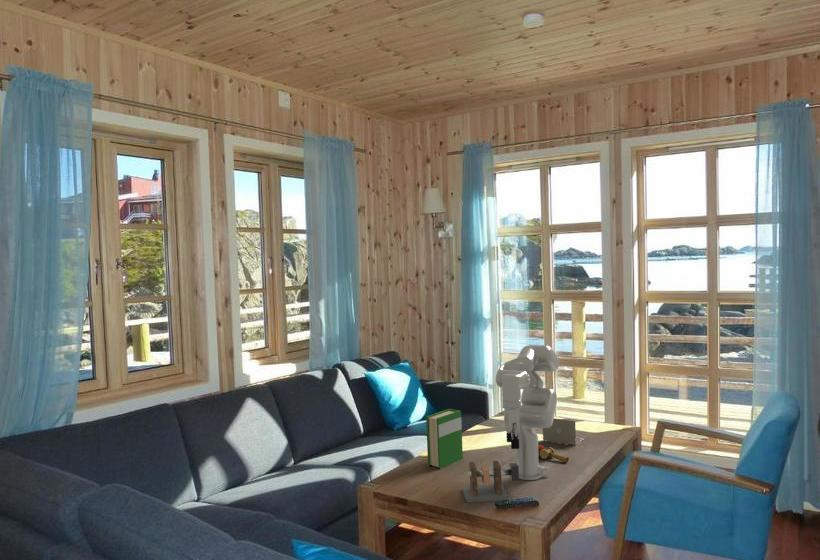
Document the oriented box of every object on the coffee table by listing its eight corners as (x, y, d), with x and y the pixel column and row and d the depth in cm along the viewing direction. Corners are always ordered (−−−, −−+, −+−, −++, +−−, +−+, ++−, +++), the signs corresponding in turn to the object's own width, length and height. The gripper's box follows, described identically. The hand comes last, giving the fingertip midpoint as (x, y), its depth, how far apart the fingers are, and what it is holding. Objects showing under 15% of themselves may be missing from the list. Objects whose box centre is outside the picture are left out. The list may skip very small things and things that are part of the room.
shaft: (517, 477, 261) (516, 463, 261) (519, 480, 257) (518, 466, 257) (468, 479, 261) (467, 465, 260) (469, 483, 257) (468, 468, 256)
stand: (498, 487, 263) (497, 460, 263) (502, 494, 255) (501, 467, 255) (470, 488, 263) (469, 462, 262) (472, 495, 255) (471, 468, 254)
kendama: (571, 462, 298) (538, 451, 310) (571, 451, 297) (538, 439, 308) (563, 470, 293) (529, 457, 305) (563, 458, 291) (529, 446, 303)
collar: (487, 479, 262) (486, 465, 262) (489, 485, 256) (489, 470, 256) (481, 480, 262) (481, 465, 262) (483, 485, 256) (483, 470, 256)
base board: (502, 487, 266) (502, 484, 266) (508, 500, 252) (508, 496, 252) (462, 489, 266) (462, 486, 266) (466, 502, 252) (466, 499, 252)
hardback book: (440, 469, 292) (438, 418, 292) (428, 466, 297) (426, 416, 297) (462, 459, 306) (461, 410, 305) (450, 456, 311) (449, 408, 310)
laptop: (584, 440, 330) (583, 415, 330) (575, 446, 320) (575, 421, 320) (552, 435, 341) (551, 411, 340) (543, 441, 330) (542, 417, 330)
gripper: (498, 399, 266) (500, 439, 267) (506, 409, 249) (507, 451, 249) (516, 399, 267) (517, 439, 267) (525, 408, 249) (526, 451, 250)
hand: (512, 445), depth 258 cm, fingers open, 9 cm apart
